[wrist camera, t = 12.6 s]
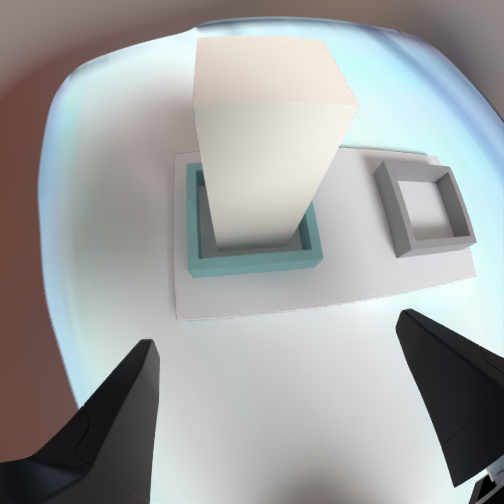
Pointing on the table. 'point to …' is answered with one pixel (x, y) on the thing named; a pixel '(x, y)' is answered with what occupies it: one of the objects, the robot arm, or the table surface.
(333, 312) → the table surface
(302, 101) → the plug
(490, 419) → the robot arm
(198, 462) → the table surface
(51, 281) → the table surface
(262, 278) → the socket board
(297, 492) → the table surface
